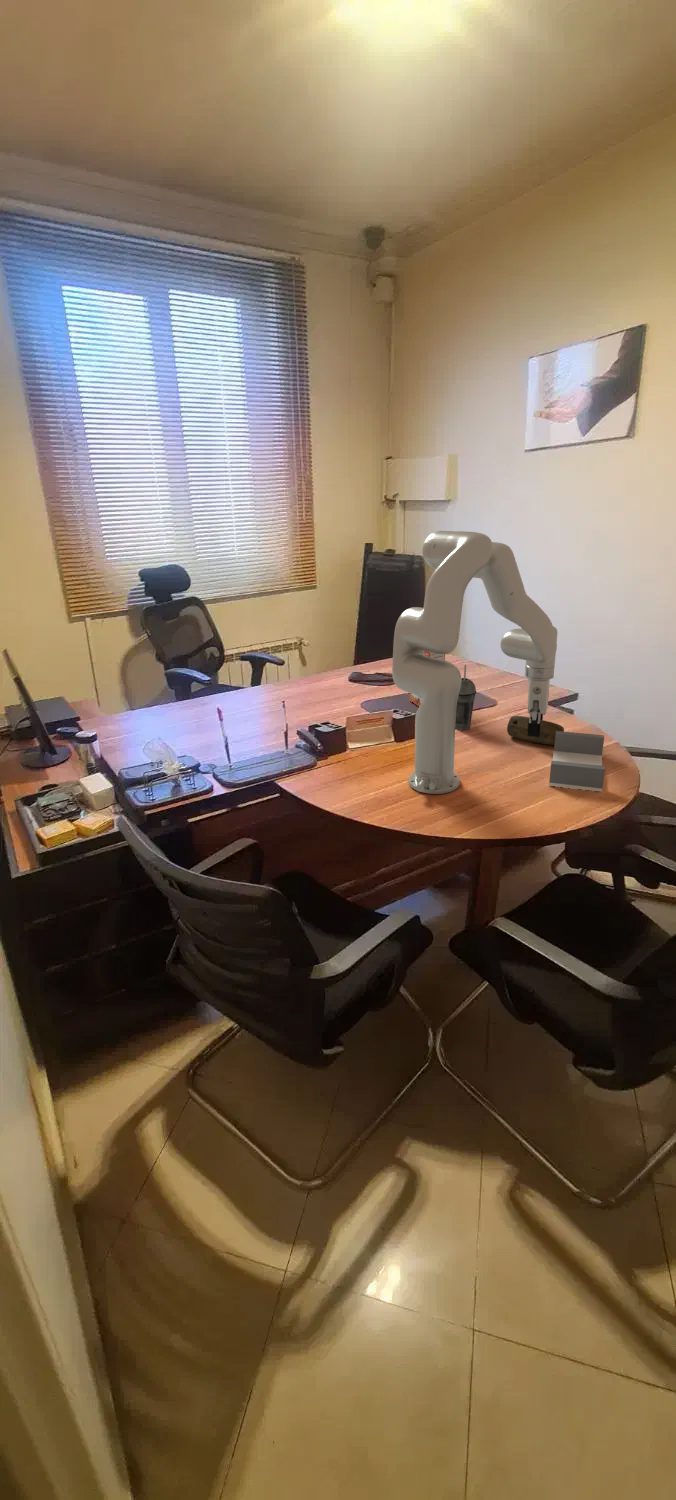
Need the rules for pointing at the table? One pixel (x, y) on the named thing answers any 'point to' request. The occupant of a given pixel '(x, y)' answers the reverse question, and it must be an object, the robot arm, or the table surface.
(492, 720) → the table surface
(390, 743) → the table surface
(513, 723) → the brown piece
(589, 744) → the holder
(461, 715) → the beverage cup
